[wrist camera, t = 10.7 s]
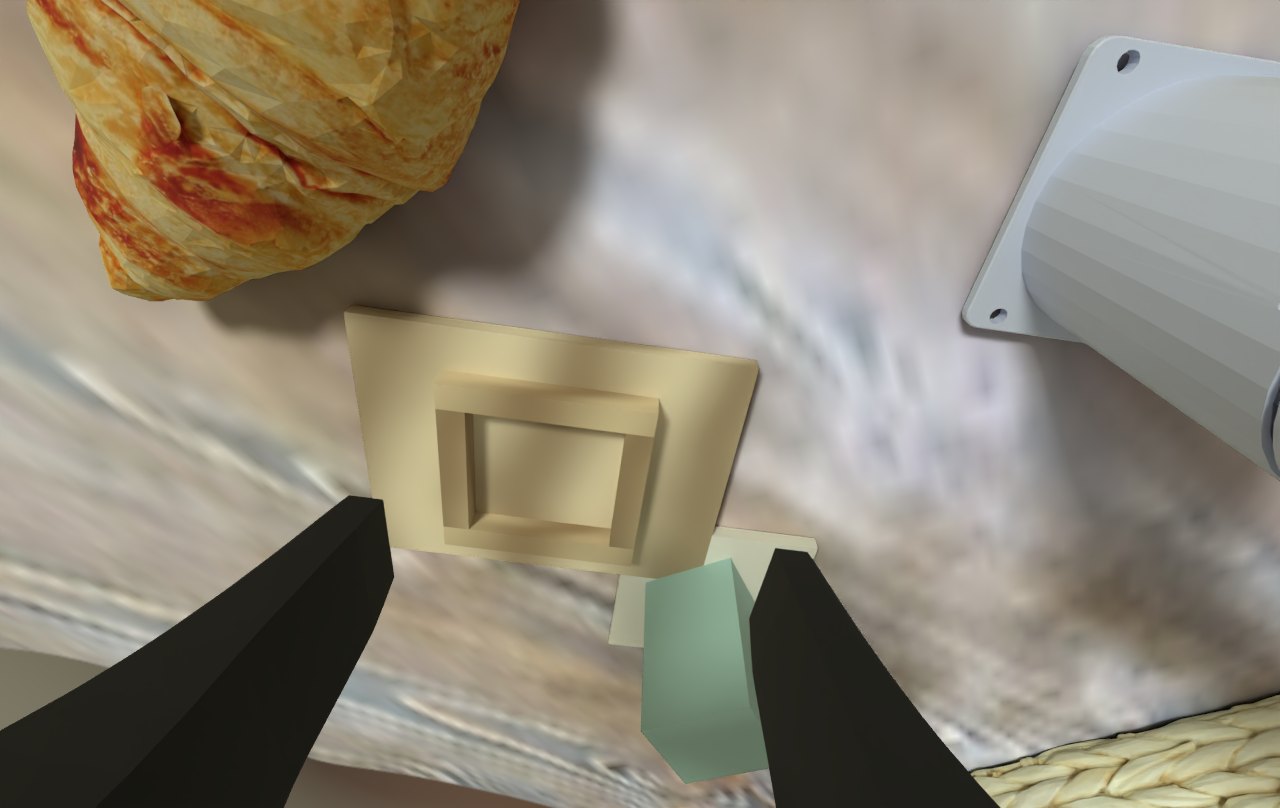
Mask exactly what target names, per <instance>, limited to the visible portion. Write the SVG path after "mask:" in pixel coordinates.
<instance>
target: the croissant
mask: <svg viewBox="0 0 1280 808" xmlns="http://www.w3.org/2000/svg"><path fill="white" fill-rule="evenodd" d="M519 3H520V0H28V2H27V12H28V16H29V19H30V21H31V24H32V26H33V28H34V30H35V32H36V35H37V37H38V39H39V41H40V43H41V45H42V48H43V50H44V52H45V54H46V56H47V58H48V60H49V62H50V64H51V66H52V68H53V70H54V72H55V75H56V77H57V79H58V81H59V83H60V86H61V88H62V89H63V90H64V92H65V93H66V95H67V96H68V98H69V99H70V100H71V102H72V103H73V105H74V106H75V111H76V122H75V141H74V147H73V174H74V178H75V183H76V188H77V190H78V192H79V194H80V196H81V198H82V200H83V202H84V204H85V206H86V208H87V211H88V214H89V216H90V218H91V220H92V221H93V223H94V225H95V226H96V228H97V229H98V231H99V233H100V240H99V247H100V252H101V258H102V262H103V265H104V268H105V271H106V274H107V277H108V280H109V283H110V285H111V287H112V288H113V289H115V290H117V291H119V292H121V293H123V294H126V295H129V296H133V297H137V298H140V299H144V300H148V301H165V300H170V299H176V300H180V299H184V300H194V301H203V300H211V299H212V298H214V297H216V296H217V295H219V294H221V293H224V292H227V291H230V290H231V289H233V288H234V287H236V286H238V285H240V284H242V283H244V282H246V281H248V280H250V279H257V278H263V277H266V276H269V275H272V274H275V273H278V272H285V271H292V270H302V269H304V268H307V267H309V266H312V265H314V264H316V263H318V262H320V261H322V260H324V259H325V258H327V257H329V256H330V255H332V254H333V253H335V252H336V251H338V250H339V249H341V248H342V247H344V246H345V245H347V244H348V243H350V242H352V240H353V239H354V238H355V237H356V236H357V235H358V233H359V232H360V231H361V229H362V228H363V227H364V226H365V225H366V224H370V223H373V222H374V221H375V220H376V219H378V218H379V217H380V216H382V215H383V214H384V213H385V212H387V211H388V210H389V209H391V208H392V207H393V206H394V205H397V204H404V203H406V202H407V201H408V200H409V199H410V198H411V197H413V196H414V195H415V194H416V193H417V192H418V191H419V190H423V191H429V192H433V191H435V190H437V189H439V188H441V187H442V186H444V185H445V184H446V183H447V182H448V180H449V178H450V176H451V174H452V172H453V170H454V168H455V165H456V162H457V161H458V160H459V158H460V157H461V155H462V152H463V150H464V148H465V145H466V143H467V141H468V138H469V136H470V133H471V131H472V129H473V127H474V125H475V122H476V119H477V117H478V114H479V111H480V106H481V102H482V99H483V97H484V95H485V94H486V92H487V91H488V89H489V87H490V86H491V84H492V83H493V82H494V80H495V78H496V76H497V74H498V71H499V69H500V67H501V65H502V62H503V60H504V58H505V53H506V49H507V45H508V41H509V37H510V34H511V30H512V26H513V22H514V18H515V15H516V12H517V9H518V6H519Z"/></svg>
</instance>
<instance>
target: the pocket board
mask: <svg viewBox="0 0 1280 808" xmlns="http://www.w3.org/2000/svg"><path fill="white" fill-rule="evenodd" d="M343 313H344V319H345V326H346V332H347V339H348V345H349V351H350V358H351V364H352V371H353V377H354V383H355V390H356V396H357V403H358V409H359V415H360V422H361V428H362V435H363V441H364V447H365V454H366V460H367V467H368V473H369V479H370V486H371V492H372V498H374V499H382V500H383V502H384V509H385V516H386V523H387V530H388V537H389V544H390V547H394V548H402V549H411V550H419V551H427V552H436V553H444V554H452V555H461V556H469V557H478V558H486V559H494V560H503V561H511V562H519V563H528V564H536V565H544V566H553V567H561V568H569V569H578V570H586V571H594V572H603V573H611V574H619V575H628V576H636V577H645V578H653V579H659V578H662V577H666V576H669V575H673V574H676V573H680V572H683V571H686V570H690V569H693V568H697V567H700V566H704V562H705V559H706V555H707V552H708V548H709V545H710V541H711V538H712V534H713V531H714V527H715V524H716V520H717V516H718V513H719V509H720V506H721V502H722V499H723V495H724V492H725V488H726V485H727V481H728V477H729V474H730V470H731V467H732V463H733V460H734V456H735V453H736V449H737V446H738V442H739V439H740V435H741V431H742V428H743V424H744V421H745V417H746V414H747V410H748V407H749V403H750V400H751V396H752V392H753V389H754V385H755V382H756V378H757V375H758V371H759V366H758V363H757V360H750V359H743V358H735V357H728V356H721V355H714V354H706V353H699V352H692V351H684V350H677V349H670V348H663V347H655V346H648V345H641V344H633V343H626V342H619V341H611V340H604V339H597V338H590V337H582V336H575V335H568V334H560V333H553V332H546V331H539V330H531V329H524V328H517V327H509V326H502V325H495V324H488V323H480V322H473V321H466V320H458V319H451V318H444V317H437V316H429V315H422V314H415V313H407V312H400V311H393V310H386V309H378V308H371V307H364V306H356V305H351V306H350V307H349V308H347V309H346V310H345V311H344V312H343Z"/></svg>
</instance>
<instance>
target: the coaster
mask: <svg viewBox="0 0 1280 808" xmlns="http://www.w3.org/2000/svg"><path fill="white" fill-rule="evenodd" d="M775 548H780V549H788V550H796V551H804V552H808V553H809V555H810V556H811V557H812V559H814V557H815V554H816V552H817V550H818V548H817V545H816V541H815V538H807V537H799V536H791V535H783V534H775V533H767V532H759V531H751V530H743V529H735V528H727V527H719V526H715V527H714V531H713V534H712V538H711V541H710V545H709V548H708V552H707V555H706V559H705V562H704V565H707V564H710V563H714V562H717V561H721V560H724V559H727V558H731V559H732V561H733V563H734V565H735V567H736V569H737V570H738V572H739V574H740V576H741V578H742V580H743V581H744V583H745V585H746V587H747V589H748V591H749V592H750V594H751V596H752V598H753V600H754V602H755V601H756V598H757V596H758V593H759V590H760V588H761V585H762V582H763V580H764V577H765V574H766V572H767V569H768V566H769V563H770V561H771V558H772V555H773V553H774V550H775ZM652 580H656V579H653V578H645V577H636V576H628V575H619V579H618V585H617V591H616V597H615V603H614V609H613V615H612V621H611V627H610V632H609V643H608V644H614V645H623V646H632V647H640V648H643V647H644V616H645V586H646V582H649V581H652Z"/></svg>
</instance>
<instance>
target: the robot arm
mask: <svg viewBox="0 0 1280 808" xmlns="http://www.w3.org/2000/svg"><path fill="white" fill-rule="evenodd" d="M1127 51H1128V53H1129V61H1128V64H1127V65H1126V66H1125V67H1124V69H1122V70H1121V71H1119V72H1118V70H1117V63H1118V60H1119V59H1120V57H1121V56H1122V55H1123V54H1124V53H1125V52H1127ZM997 309H1001V312H1000V313H999V315H998V316H997V317H995V318H993V319H990V315H991V314H992V312H993V311H995V310H997ZM962 317H963V319H964V320H965V321H966V322H967V323H968V324H969V325H970V326H972V327H975V328H981V329H988V330H995V331H1002V332H1009V333H1016V334H1023V335H1030V336H1037V337H1044V338H1051V339H1058V340H1066V341H1073V342H1080V343H1086V344H1087V345H1089V346H1090V347H1091V348H1093V349H1094V350H1096V351H1097V352H1098V353H1100V354H1101V355H1103V356H1104V357H1106V358H1107V359H1108V360H1110V361H1111V362H1113V363H1114V364H1115V365H1117V366H1118V367H1120V368H1121V369H1122V370H1124V371H1125V372H1127V373H1128V374H1129V375H1131V376H1132V377H1134V378H1135V379H1136V380H1138V381H1139V382H1141V383H1142V384H1144V385H1145V386H1146V387H1148V388H1149V389H1151V390H1152V391H1153V392H1155V393H1156V394H1158V395H1159V396H1160V397H1162V398H1163V399H1165V400H1166V401H1167V402H1169V403H1170V404H1172V405H1173V406H1175V407H1176V408H1177V409H1179V410H1180V411H1182V412H1183V413H1184V414H1186V415H1187V416H1189V417H1190V418H1191V419H1193V420H1194V421H1196V422H1197V423H1198V424H1200V425H1201V426H1203V427H1204V428H1206V429H1207V430H1208V431H1210V432H1211V433H1213V434H1214V435H1215V436H1217V437H1218V438H1220V439H1221V440H1222V441H1224V442H1225V443H1227V444H1228V445H1229V446H1231V447H1232V448H1234V449H1235V450H1237V451H1238V452H1239V453H1241V454H1242V455H1244V456H1245V457H1246V458H1248V459H1249V460H1251V461H1252V462H1253V463H1255V464H1256V465H1258V466H1259V467H1260V468H1262V469H1263V470H1265V471H1266V472H1268V473H1269V474H1270V475H1272V476H1273V477H1275V478H1276V479H1277V480H1279V481H1280V62H1277V61H1270V60H1264V59H1258V58H1252V57H1246V56H1240V55H1234V54H1228V53H1222V52H1216V51H1210V50H1204V49H1198V48H1192V47H1186V46H1180V45H1174V44H1168V43H1162V42H1156V41H1150V40H1144V39H1138V38H1132V37H1126V36H1120V35H1116V36H1103V37H1101V38H1099V39H1097V40H1095V41H1094V42H1092V43H1091V44H1090V45H1089V46H1088V47H1087V48H1086V50H1085V52H1084V53H1083V55H1082V56H1081V59H1080V61H1079V63H1078V65H1077V67H1076V69H1075V71H1074V73H1073V75H1072V78H1071V80H1070V82H1069V84H1068V86H1067V88H1066V90H1065V92H1064V95H1063V97H1062V99H1061V101H1060V103H1059V105H1058V107H1057V109H1056V112H1055V114H1054V116H1053V118H1052V120H1051V122H1050V124H1049V126H1048V129H1047V131H1046V133H1045V135H1044V137H1043V139H1042V141H1041V143H1040V146H1039V148H1038V150H1037V152H1036V154H1035V156H1034V158H1033V160H1032V163H1031V165H1030V167H1029V169H1028V171H1027V173H1026V175H1025V177H1024V180H1023V182H1022V184H1021V186H1020V188H1019V190H1018V192H1017V194H1016V197H1015V199H1014V201H1013V203H1012V205H1011V207H1010V209H1009V211H1008V213H1007V216H1006V218H1005V220H1004V222H1003V224H1002V226H1001V228H1000V230H999V233H998V235H997V237H996V239H995V241H994V243H993V245H992V247H991V250H990V252H989V254H988V256H987V258H986V260H985V262H984V264H983V267H982V269H981V271H980V273H979V275H978V277H977V279H976V281H975V284H974V286H973V288H972V290H971V292H970V294H969V296H968V298H967V301H966V303H965V305H964V307H963V310H962ZM393 578H394V572H393V565H392V558H391V551H390V544H389V537H388V530H387V523H386V516H385V509H384V502H383V500H382V499H374V498H366V497H358V496H350V495H349V496H348V497H346V498H345V499H344V500H342V501H341V502H340V503H338V504H337V505H336V506H334V507H333V508H332V509H330V510H329V511H328V512H327V513H325V514H324V515H323V516H322V517H320V518H319V519H318V520H316V521H315V522H314V523H313V524H311V525H310V526H309V527H308V528H306V529H305V530H304V531H302V532H301V533H300V534H299V535H297V536H296V537H295V538H294V539H292V540H291V541H290V542H288V543H287V544H286V545H285V546H283V547H282V548H281V549H279V550H278V551H277V552H276V553H274V554H273V555H272V556H270V557H269V558H268V559H266V560H265V561H264V562H262V563H261V564H260V565H258V566H257V567H256V568H254V569H253V570H252V571H250V572H249V573H248V574H246V575H245V576H244V577H242V578H241V579H240V580H238V581H237V582H236V583H235V584H233V585H232V586H230V587H229V588H228V589H226V590H225V591H224V592H222V593H221V594H219V595H218V596H216V597H215V598H214V599H212V600H211V601H209V602H208V603H206V604H205V605H204V606H202V607H201V608H199V609H198V610H196V611H195V612H194V613H192V614H191V615H189V616H188V617H186V618H185V619H184V620H182V621H181V622H179V623H178V624H176V625H175V626H174V627H172V628H171V629H169V630H168V631H166V632H165V633H163V634H162V635H160V636H159V637H157V638H156V639H154V640H153V641H151V642H150V643H148V644H147V645H145V646H143V647H142V648H140V649H139V650H137V651H136V652H134V653H133V654H131V655H129V656H128V657H126V658H125V659H123V660H122V661H120V662H118V663H117V664H115V665H113V666H112V667H110V668H108V669H107V670H105V671H104V672H102V673H101V674H99V675H97V676H95V677H94V678H92V679H91V680H89V681H87V682H86V683H84V684H82V685H81V686H79V687H77V688H76V689H74V690H72V691H70V692H69V693H67V694H65V695H64V696H62V697H60V698H58V699H56V700H54V701H53V702H51V703H49V704H47V705H46V706H44V707H42V708H40V709H38V710H37V711H35V712H33V713H31V714H29V715H28V716H26V717H24V718H23V719H20V720H19V721H17V722H15V723H13V724H11V725H10V726H8V727H6V728H4V729H2V730H1V731H0V808H284V806H285V804H286V801H287V799H288V797H289V794H290V792H291V789H292V787H293V785H294V783H295V781H296V779H297V777H298V775H299V772H300V770H301V768H302V766H303V764H304V762H305V760H306V758H307V756H308V754H309V752H310V750H311V748H312V747H313V745H314V743H315V741H316V739H317V737H318V735H319V733H320V731H321V730H322V728H323V726H324V724H325V722H326V720H327V718H328V716H329V714H330V713H331V711H332V709H333V707H334V705H335V703H336V701H337V699H338V698H339V696H340V694H341V692H342V690H343V688H344V686H345V684H346V682H347V681H348V679H349V677H350V675H351V673H352V671H353V669H354V667H355V665H356V663H357V661H358V660H359V658H360V656H361V654H362V652H363V650H364V648H365V646H366V644H367V642H368V640H369V638H370V636H371V634H372V632H373V630H374V628H375V625H376V623H377V620H378V618H379V615H380V613H381V610H382V608H383V605H384V603H385V600H386V597H387V595H388V592H389V589H390V586H391V584H392V581H393ZM749 626H750V645H751V660H752V673H753V679H754V685H755V691H756V697H757V703H758V709H759V714H760V720H761V726H762V731H763V737H764V742H765V748H766V753H767V759H768V764H769V770H770V776H771V781H772V787H773V792H774V798H775V803H776V808H1000V806H999V805H998V804H997V803H996V802H995V801H994V800H993V799H992V798H991V797H990V796H989V795H988V793H987V792H986V791H985V790H984V789H983V788H982V787H981V786H980V785H979V783H978V782H977V781H976V780H975V779H974V778H973V776H972V775H971V774H970V773H969V772H968V771H967V770H966V768H965V767H964V766H963V765H962V764H961V763H960V761H959V760H958V759H957V758H956V757H955V756H954V755H953V753H952V752H951V751H950V750H949V749H948V748H947V747H946V745H945V744H944V743H943V742H942V740H941V739H940V738H939V737H938V736H937V734H936V733H935V732H934V731H933V729H932V728H931V727H930V726H929V724H928V723H927V722H926V721H925V719H924V718H923V717H922V716H921V714H920V713H919V712H918V710H917V709H916V708H915V706H914V705H913V704H912V703H911V701H910V700H909V699H908V697H907V696H906V695H905V693H904V692H903V691H902V690H901V688H900V687H899V685H898V684H897V683H896V681H895V680H894V679H893V677H892V676H891V675H890V673H889V672H888V671H887V669H886V668H885V666H884V665H883V664H882V662H881V661H880V659H879V658H878V656H877V655H876V654H875V652H874V651H873V649H872V648H871V646H870V645H869V644H868V642H867V641H866V639H865V638H864V637H863V635H862V634H861V632H860V631H859V629H858V628H857V626H856V625H855V623H854V622H853V620H852V619H851V617H850V616H849V614H848V613H847V611H846V610H845V608H844V607H843V605H842V604H841V602H840V601H839V599H838V598H837V596H836V595H835V593H834V591H833V590H832V588H831V587H830V585H829V584H828V582H827V581H826V579H825V578H824V576H823V574H822V573H821V571H820V570H819V568H818V567H817V565H816V564H815V562H814V560H813V559H812V557H811V556H810V555H809V553H808V552H804V551H796V550H788V549H780V548H775V550H774V553H773V555H772V558H771V561H770V563H769V566H768V569H767V572H766V574H765V577H764V580H763V582H762V585H761V588H760V590H759V593H758V596H757V598H756V601H755V604H754V607H753V609H752V612H751V615H750V617H749Z"/></svg>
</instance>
